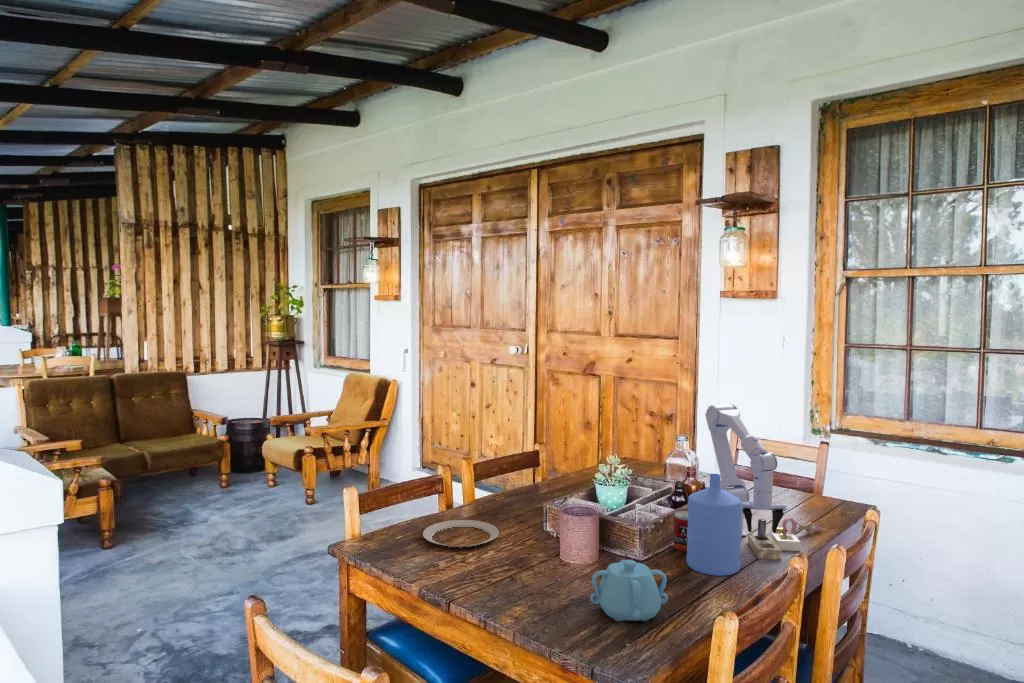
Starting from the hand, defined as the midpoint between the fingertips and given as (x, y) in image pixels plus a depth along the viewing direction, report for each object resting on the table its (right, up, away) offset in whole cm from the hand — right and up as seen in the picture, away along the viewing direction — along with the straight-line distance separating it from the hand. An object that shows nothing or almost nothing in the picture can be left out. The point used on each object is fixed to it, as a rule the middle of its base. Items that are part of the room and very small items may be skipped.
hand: (761, 531), depth 225 cm
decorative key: (+18, -5, +12) cm, 22 cm away
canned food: (-25, -5, -1) cm, 25 cm away
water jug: (-20, -6, -16) cm, 27 cm away
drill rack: (0, -5, -3) cm, 6 cm away
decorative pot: (-51, -8, -47) cm, 70 cm away
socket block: (+9, -5, +5) cm, 11 cm away
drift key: (+9, -4, +6) cm, 11 cm away
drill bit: (0, -5, 0) cm, 5 cm away
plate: (-98, -5, +9) cm, 99 cm away
